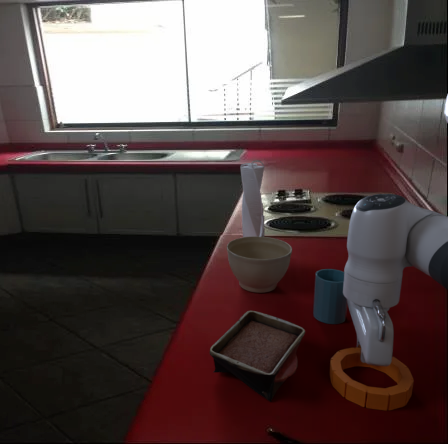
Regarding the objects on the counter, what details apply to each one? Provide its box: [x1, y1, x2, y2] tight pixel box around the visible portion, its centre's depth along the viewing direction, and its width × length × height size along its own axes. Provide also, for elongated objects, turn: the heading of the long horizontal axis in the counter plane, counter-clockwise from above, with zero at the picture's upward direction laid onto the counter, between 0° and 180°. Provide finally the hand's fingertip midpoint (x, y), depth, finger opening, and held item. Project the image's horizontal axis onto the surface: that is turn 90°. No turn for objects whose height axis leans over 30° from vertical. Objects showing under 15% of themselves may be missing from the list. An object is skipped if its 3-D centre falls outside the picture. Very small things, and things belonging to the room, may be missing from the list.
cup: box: [312, 268, 348, 325], centre depth 92 cm, size 7×7×10 cm
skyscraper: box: [240, 159, 265, 237], centre depth 134 cm, size 8×8×28 cm
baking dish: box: [209, 310, 306, 403], centre depth 76 cm, size 14×18×10 cm
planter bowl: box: [226, 236, 293, 294], centre depth 108 cm, size 16×16×11 cm
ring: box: [328, 346, 415, 412], centre depth 72 cm, size 12×12×3 cm
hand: (363, 355), depth 76 cm, fingers closed on ring
